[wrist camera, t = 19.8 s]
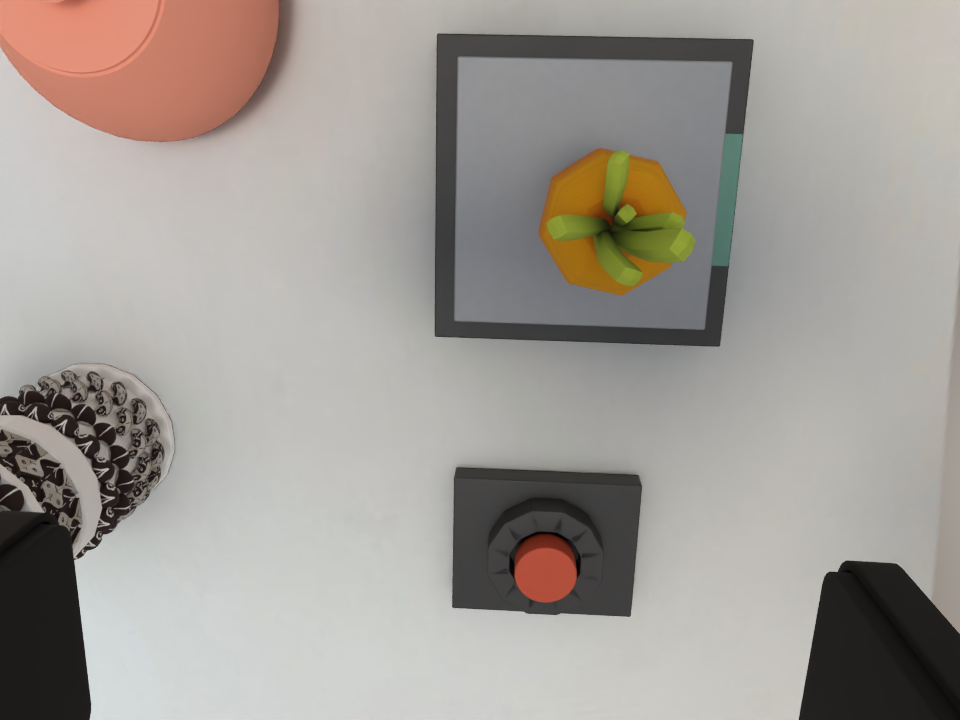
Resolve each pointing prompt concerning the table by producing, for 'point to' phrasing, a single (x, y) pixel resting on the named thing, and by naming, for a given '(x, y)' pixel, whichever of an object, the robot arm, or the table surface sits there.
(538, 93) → the scale
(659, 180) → the carrot
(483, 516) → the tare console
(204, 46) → the sugar bowl
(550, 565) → the button
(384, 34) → the table surface
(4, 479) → the patterned cylindrical tower
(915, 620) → the robot arm
